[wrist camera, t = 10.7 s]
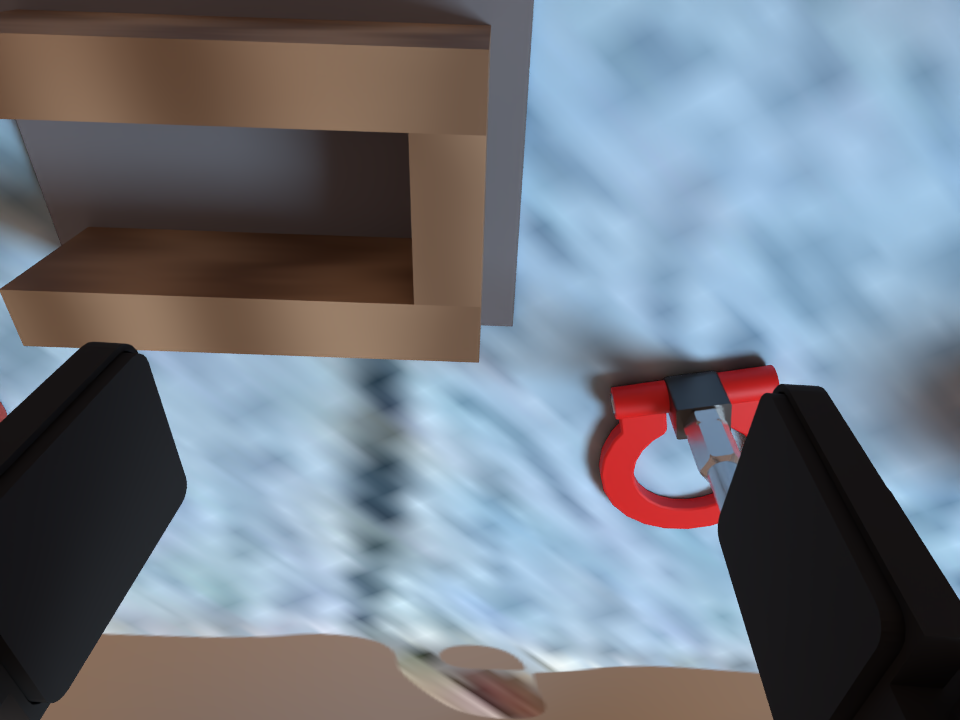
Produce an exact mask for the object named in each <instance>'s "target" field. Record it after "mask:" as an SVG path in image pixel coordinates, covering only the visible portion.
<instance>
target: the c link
mask: <svg viewBox="0 0 960 720" xmlns="http://www.w3.org/2000/svg"><path fill="white" fill-rule="evenodd" d="M490 43H491V26H490V25H460V24H431V23H401V22H372V21H342V20H313V19H283V18H254V17H225V16H195V15H166V14H136V13H107V12H77V11H48V10H19V9H16V10H9V11H3V12H0V119H21V120H49V121H78V122H107V123H135V124H164V125H193V126H222V127H250V128H279V129H308V130H337V131H365V132H394V133H408V138H409V168H410V198H411V227H412V238H390V237H362V236H334V235H305V234H277V233H249V232H221V231H193V230H165V229H137V228H109V227H87V228H86V229H84V230H83V231H82V232H80V233H79V234H77V235H76V236H75V237H73V238H72V239H70V240H69V241H67V242H66V243H65V244H63V245H62V246H60V247H59V248H58V249H56V250H55V251H53V252H52V253H50V254H49V255H48V256H46V257H45V258H43V259H42V260H41V261H39V262H38V263H36V264H35V265H33V266H32V267H31V268H29V269H28V270H26V271H25V272H24V273H22V274H21V275H19V276H18V277H16V278H15V279H14V280H12V281H11V282H9V283H8V284H7V285H5V286H4V287H2V288H1V289H0V293H1V295H2V297H3V300H4V302H5V304H6V307H7V309H8V311H9V313H10V316H11V318H12V320H13V323H14V325H15V327H16V329H17V332H18V334H19V336H20V339H21V341H22V343H23V345H24V346H42V347H69V348H81V347H82V346H83V345H85V344H86V343H88V342H109V343H125V344H130V345H132V346H133V347H134V348H135V349H136V350H151V351H179V352H206V353H233V354H261V355H288V356H315V357H343V358H370V359H398V360H425V361H452V362H479V350H480V329H481V307H482V283H483V253H484V223H485V193H486V163H487V133H488V103H489V73H490Z"/></svg>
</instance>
